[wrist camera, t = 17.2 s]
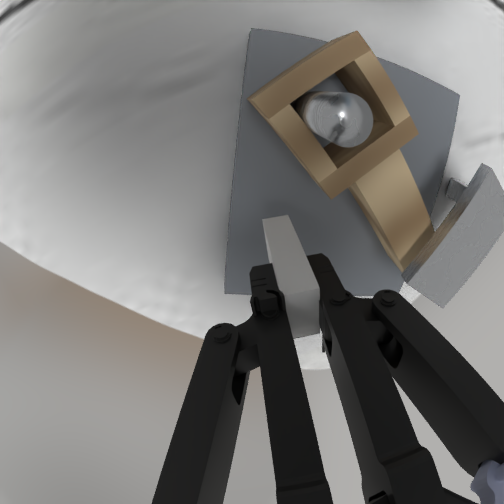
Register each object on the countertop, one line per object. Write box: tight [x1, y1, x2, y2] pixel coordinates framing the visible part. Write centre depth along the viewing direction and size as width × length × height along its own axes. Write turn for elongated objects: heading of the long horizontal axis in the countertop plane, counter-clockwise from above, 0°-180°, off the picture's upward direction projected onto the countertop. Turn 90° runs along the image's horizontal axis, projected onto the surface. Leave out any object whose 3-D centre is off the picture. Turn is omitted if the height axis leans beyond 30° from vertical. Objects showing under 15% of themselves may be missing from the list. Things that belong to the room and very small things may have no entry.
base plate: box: [224, 28, 460, 296], centre depth 20 cm, size 20×17×2 cm
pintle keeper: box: [290, 91, 504, 308], centre depth 18 cm, size 13×19×8 cm
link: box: [247, 31, 435, 272], centre depth 17 cm, size 17×7×4 cm, turn 40°
